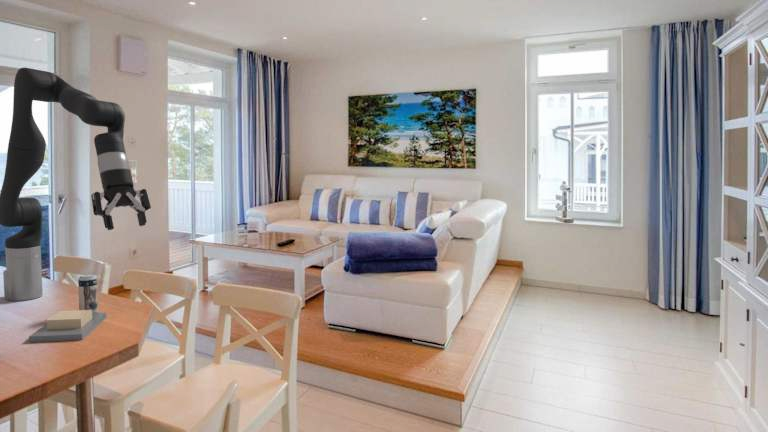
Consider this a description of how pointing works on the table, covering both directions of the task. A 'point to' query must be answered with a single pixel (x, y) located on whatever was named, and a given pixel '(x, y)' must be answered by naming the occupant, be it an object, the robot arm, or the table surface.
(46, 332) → the slate board
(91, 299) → the beer can
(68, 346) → the table surface
